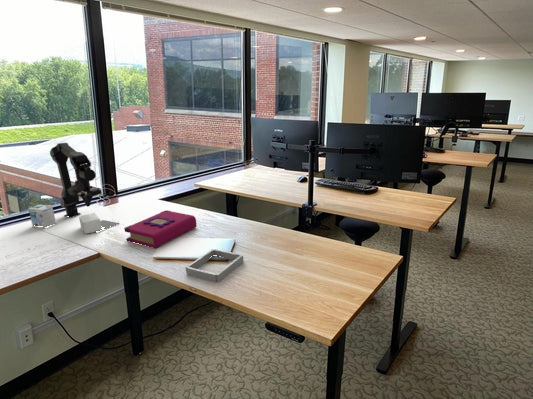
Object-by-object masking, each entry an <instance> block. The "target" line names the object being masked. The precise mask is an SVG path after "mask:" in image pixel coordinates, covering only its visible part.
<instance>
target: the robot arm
mask: <svg viewBox="0 0 533 399" xmlns="http://www.w3.org/2000/svg"><path fill="white" fill-rule="evenodd" d="M49 156H50V157H51V159H52V160H53V162H54V163H56V165H57V170H58V173H59V177H60V182H61V186H62V191H61V194H60V195H61V198H60V207H62V208H63V209H64V210H65V213H66V214H63V215H64V216H63V217H66V216H69V217H68V218H74V217H77V216H78V215H79V216H80V215H81V214H82V213H81V212H79V211H78V207H77V206H78V205H79V204H80V198H81V199H82V200H83V202H84V204H85V205H86V207H90V205H91V202H92V199H93V198H94V197H95V196H98V195H101V194H102V193H103V192H102V189H101V188H99V187H98V188H97V187H94V188H93V186H92V185H91V182H92V181H93V180H95V178H96V176H97V174H96V171H95V170H93V169H92V168H91V167H92V162H91V160H90V159H89V157H88V156H87V155H86V154H85V153H84V152H82V151H76V149H74V148H73V147H71V145H69V143H68V142H60V143H57V144H56V145H55V146H53V147H52V148H50V151H49ZM68 161H69V163H70V164H71V166H72V167H73V170H74V172H75V178H76V180H75V181H74V184H72V181H71V176H70V172H69V168H68ZM76 215H77V216H76ZM73 216H74V217H73Z"/></svg>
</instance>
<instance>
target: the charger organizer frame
mask: <svg viewBox="0 0 533 399" xmlns="http://www.w3.org/2000/svg"><path fill="white" fill-rule="evenodd" d="M213 255H217V256H221V257H224V258H223V259H225V258H226V259H225V260H230V261H231V262H230V263H229V264H227V265H226V266H225V267H224V268H222V269H221V270H220V271H218V272H217V273H215V272H210V271H207V270H202V269H199V267H201V266H203V265H204V264H205V263H206V262H208V261H209V260H210V259H209V258H210V257H211V256H213ZM243 263H244V255H242V254H241V253H237V252H230V251H227V250H222V249H218V248H214V249H213V248H212V249H210V250H209V251H207V252H206V253H204V254H202V255H201V256H199V257H198V258H197V259H195V260H194V261H192V262H190V263H189V264H187V265H186V266H185V273H187V274H186V275H187V276H190V275H191V277H194V276H195V277H194V278H199V279H203V280H205V281H209V282H214V283H219V282H221V281H222V280H224V279H225V278H226V277H227V276H228V275H229V274H232V272H233V271H235V270H236V269H237V268H239V266H240V265H242V264H243Z"/></svg>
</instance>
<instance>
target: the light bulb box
mask: <svg viewBox="0 0 533 399" xmlns="http://www.w3.org/2000/svg"><path fill="white" fill-rule="evenodd" d="M53 208H54V207H53V205H44V204H37V205H34V206H31V207H29V208H28V212H29V216H30V220H31V221H30V222H31V225H32V227H33V226H34V225H35V226H43V227H47V226H50V225H53V224H56V225H57V221H56V217H55V212H54V209H53Z"/></svg>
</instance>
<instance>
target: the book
mask: <svg viewBox="0 0 533 399" xmlns="http://www.w3.org/2000/svg"><path fill="white" fill-rule="evenodd" d="M196 227H197V218H196V216H194V214H193V215H192V214H187V213H182V212H176V211H172V210H168V209H167V210H163V211H161V212H159V213H157V214H154V215H152V216H149V217H148V218H145V219H143V220H141V221H140V220H139V221H138V222H135V223H133V224H131V225H127V226H125V227H124V228H123V229H124V232H125V233H128V234H129V235H130V236H129V237H127V238H126V240H127V241H130V242H135V243H139V244H142V245H146V246H149V247H148V248H150V247H153V248H152V249H154V248H155V249H157V248H159V247H161V246H163V245H165V244H166V242H167V243H169V242H170V240H171V241H172V239H173V240H174V239H176V238H178V237H180V236H182V235H184V234H186V233H188V232H190V231H192V230H193V229H196ZM126 240H125V241H126ZM127 241H126V242H127ZM168 241H169V242H168ZM130 242H129V243H130ZM135 243H134V244H135ZM164 243H165V244H164ZM139 244H138V245H139ZM162 244H163V245H162ZM142 245H141V246H142ZM160 245H161V246H160ZM146 246H145V247H146Z"/></svg>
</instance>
